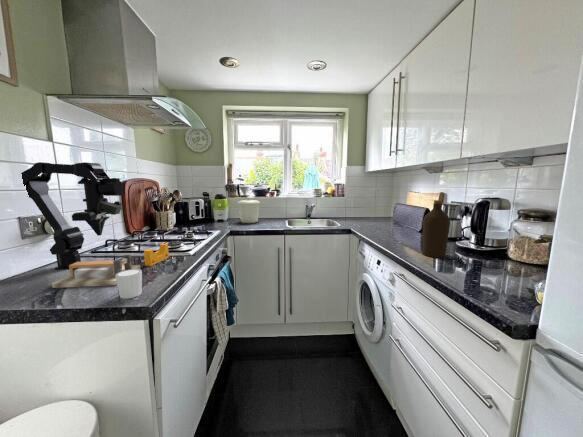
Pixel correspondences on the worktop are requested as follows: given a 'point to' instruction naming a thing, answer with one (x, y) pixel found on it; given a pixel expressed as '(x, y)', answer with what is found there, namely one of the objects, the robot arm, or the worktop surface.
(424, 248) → the olive oil
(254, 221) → the canister
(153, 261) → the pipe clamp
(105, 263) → the tan wooden bar
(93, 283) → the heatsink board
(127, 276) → the white cylinder
